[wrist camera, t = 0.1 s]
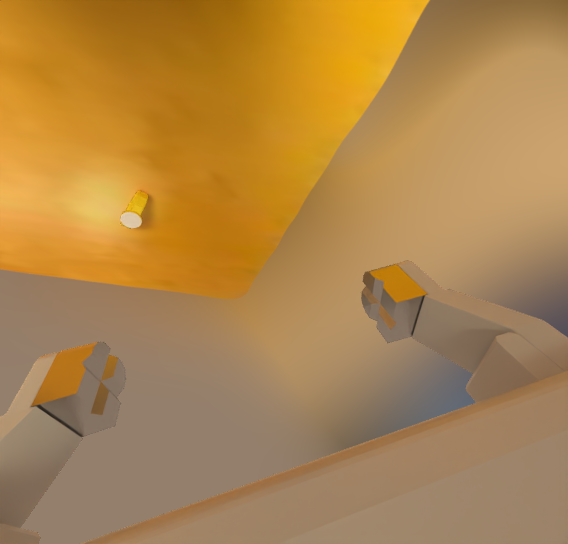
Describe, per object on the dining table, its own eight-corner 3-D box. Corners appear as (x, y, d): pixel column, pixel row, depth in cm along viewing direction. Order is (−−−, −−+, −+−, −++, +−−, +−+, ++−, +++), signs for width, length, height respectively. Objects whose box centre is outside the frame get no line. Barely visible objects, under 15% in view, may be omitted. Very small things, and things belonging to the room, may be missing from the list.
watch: (137, 217, 45) (131, 239, 41) (119, 208, 43) (111, 230, 39) (154, 191, 43) (150, 212, 39) (137, 181, 41) (130, 201, 37)
